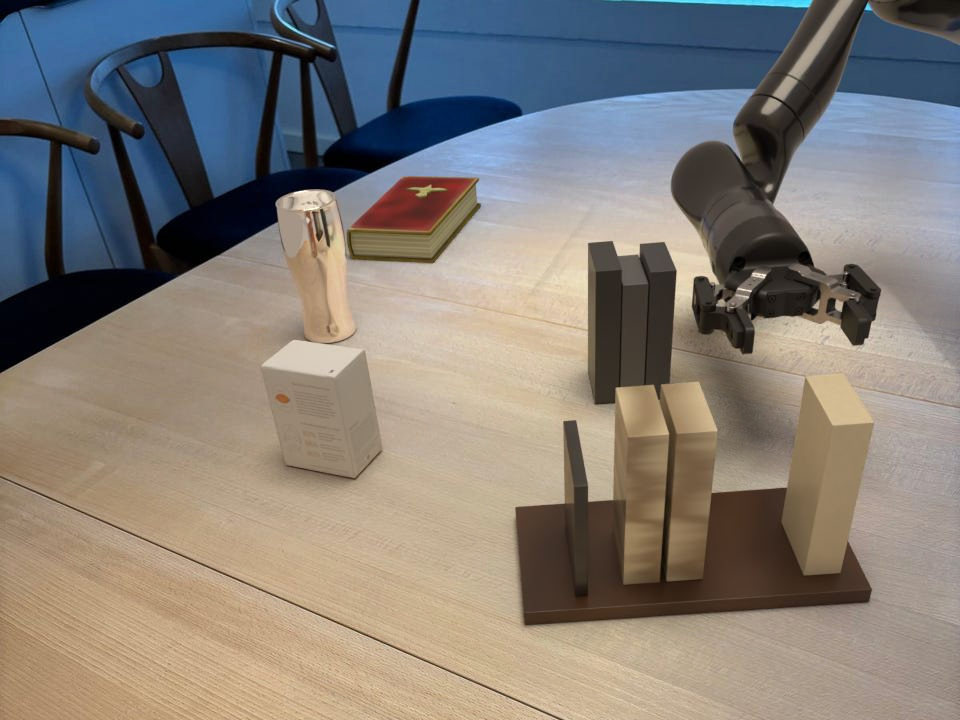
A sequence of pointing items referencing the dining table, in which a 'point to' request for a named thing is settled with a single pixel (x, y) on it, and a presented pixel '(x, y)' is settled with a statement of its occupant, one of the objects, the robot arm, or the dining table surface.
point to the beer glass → (317, 262)
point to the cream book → (825, 472)
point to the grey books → (629, 318)
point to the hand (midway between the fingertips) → (805, 338)
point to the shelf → (726, 566)
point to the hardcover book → (414, 219)
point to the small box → (323, 407)
